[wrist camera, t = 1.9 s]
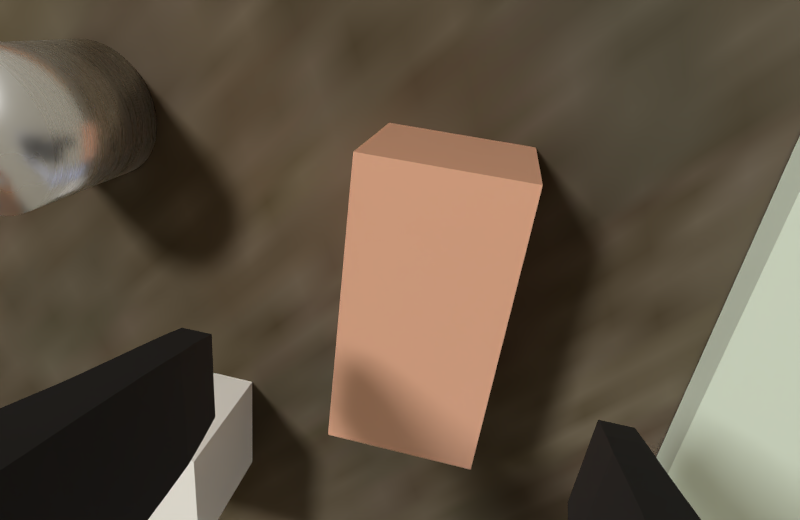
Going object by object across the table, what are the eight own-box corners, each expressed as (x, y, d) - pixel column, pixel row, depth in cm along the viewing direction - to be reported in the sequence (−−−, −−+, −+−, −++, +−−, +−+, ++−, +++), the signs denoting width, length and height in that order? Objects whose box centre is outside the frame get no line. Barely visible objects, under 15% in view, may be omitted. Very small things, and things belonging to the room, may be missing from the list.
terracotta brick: (478, 383, 18) (470, 469, 14) (362, 356, 18) (328, 434, 15) (535, 146, 14) (543, 185, 11) (390, 121, 15) (353, 151, 11)
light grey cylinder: (162, 184, 17) (65, 228, 13) (49, 163, 17) (-73, 200, 14) (151, 48, 15) (36, 57, 11) (26, 30, 15) (-122, 32, 12)
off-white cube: (253, 460, 21) (199, 550, 17) (161, 437, 22) (90, 520, 18) (253, 380, 19) (193, 461, 16) (153, 357, 20) (73, 430, 16)
